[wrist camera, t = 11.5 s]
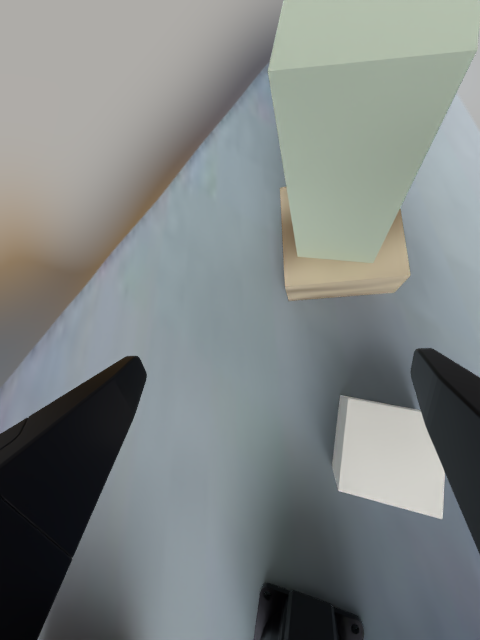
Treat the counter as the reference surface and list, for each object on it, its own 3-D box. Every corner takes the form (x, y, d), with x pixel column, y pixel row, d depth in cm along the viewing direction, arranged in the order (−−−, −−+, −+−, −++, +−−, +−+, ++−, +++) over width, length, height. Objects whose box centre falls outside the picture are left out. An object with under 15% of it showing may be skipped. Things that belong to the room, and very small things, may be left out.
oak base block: (393, 293, 22) (410, 275, 18) (289, 302, 24) (284, 286, 20) (380, 202, 24) (393, 168, 20) (284, 216, 26) (279, 187, 22)
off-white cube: (409, 485, 19) (442, 519, 14) (331, 465, 20) (338, 490, 16) (415, 409, 20) (447, 416, 15) (339, 394, 21) (348, 398, 16)
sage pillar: (373, 263, 19) (477, 49, 7) (297, 256, 20) (267, 70, 8) (382, 195, 20) (492, -112, 7) (309, 193, 21) (297, -66, 9)
